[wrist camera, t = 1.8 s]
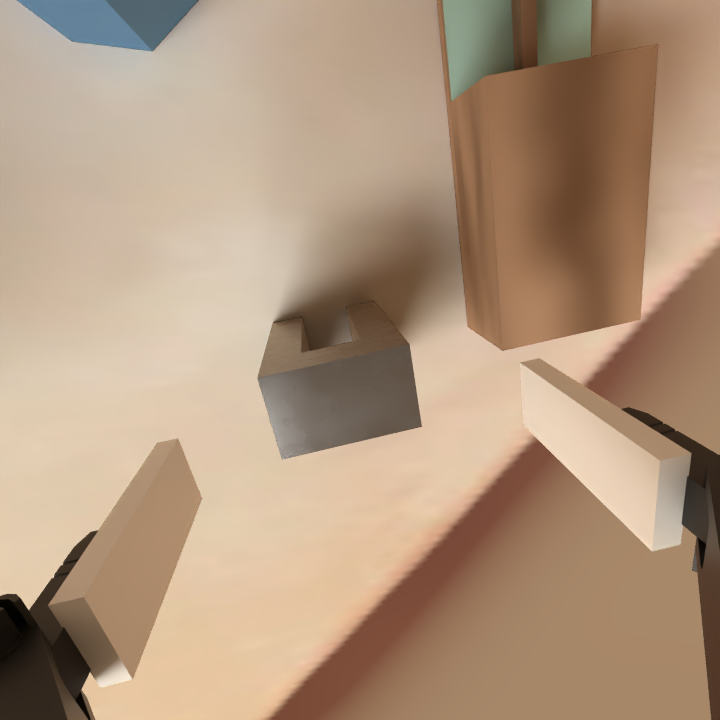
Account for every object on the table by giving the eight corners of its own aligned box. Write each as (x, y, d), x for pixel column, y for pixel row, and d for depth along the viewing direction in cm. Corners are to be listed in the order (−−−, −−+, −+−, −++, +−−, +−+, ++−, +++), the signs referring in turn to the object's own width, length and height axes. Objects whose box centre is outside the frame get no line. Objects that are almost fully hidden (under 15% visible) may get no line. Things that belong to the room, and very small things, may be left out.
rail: (467, 326, 27) (502, 350, 22) (407, -315, 17) (447, -519, 12) (582, 301, 27) (640, 319, 23) (589, -338, 17) (696, -543, 13)
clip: (288, 381, 26) (282, 459, 18) (272, 322, 25) (257, 378, 17) (384, 360, 27) (421, 426, 18) (374, 301, 25) (409, 344, 17)
